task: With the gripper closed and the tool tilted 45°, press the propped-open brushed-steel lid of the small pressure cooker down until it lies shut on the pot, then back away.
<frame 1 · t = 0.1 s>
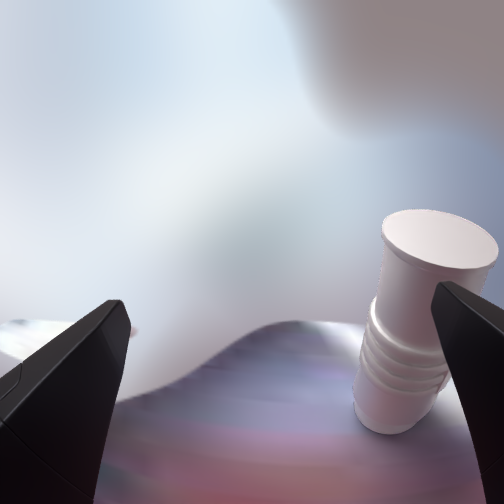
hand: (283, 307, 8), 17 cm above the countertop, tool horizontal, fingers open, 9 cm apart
white cylinder: (388, 405, 22), on the countertop
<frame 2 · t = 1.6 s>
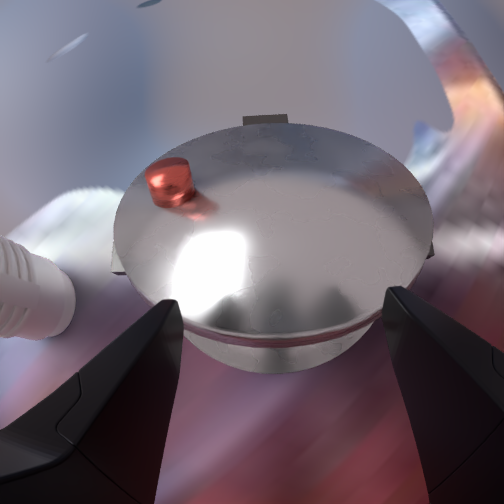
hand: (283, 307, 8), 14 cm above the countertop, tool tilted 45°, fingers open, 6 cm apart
cooker pot: (273, 265, 23), on the countertop
cooker lid: (272, 183, 14), point 10 cm above the countertop, hinge at 28.0°
white cylinder: (51, 302, 23), on the countertop
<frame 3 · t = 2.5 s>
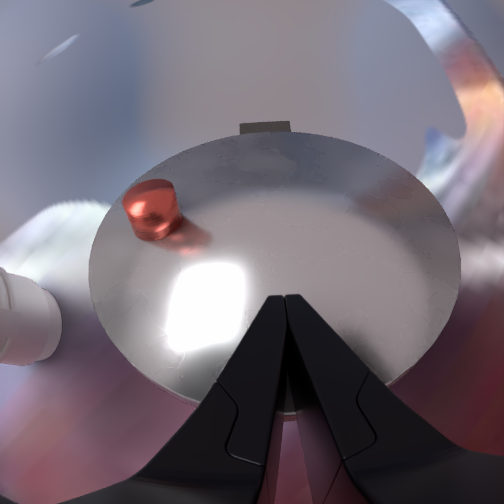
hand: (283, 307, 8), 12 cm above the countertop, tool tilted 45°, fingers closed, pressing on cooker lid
cooker pot: (274, 290, 21), on the countertop
cooker lid: (273, 210, 12), point 9 cm above the countertop, hinge at 27.2°, touching gripper
white cylinder: (37, 324, 21), on the countertop
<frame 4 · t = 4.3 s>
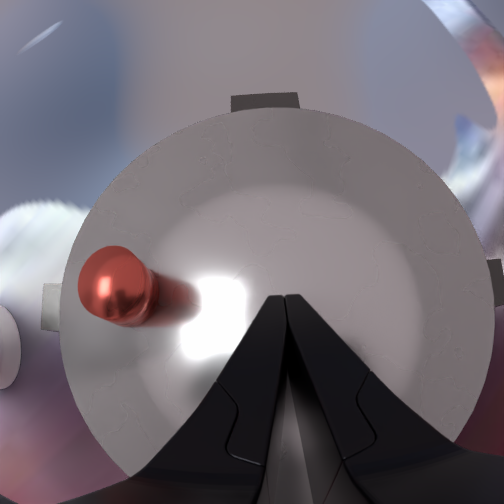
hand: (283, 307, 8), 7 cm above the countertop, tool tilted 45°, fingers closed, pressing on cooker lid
cooker pot: (277, 316, 15), on the countertop
cooker lid: (280, 287, 9), point 7 cm above the countertop, hinge at 5.5°, touching gripper
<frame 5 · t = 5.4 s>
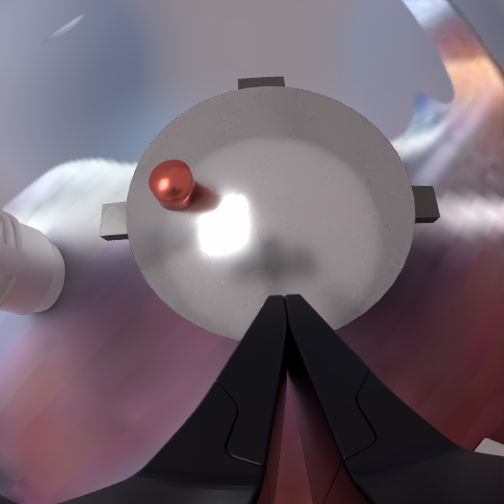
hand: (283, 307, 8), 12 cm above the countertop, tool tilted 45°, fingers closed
cooker pot: (270, 231, 22), on the countertop
cooker lid: (270, 183, 15), point 7 cm above the countertop, hinge at 5.4°
white cylinder: (40, 276, 22), on the countertop
milk carton: (471, 488, 16), on the countertop
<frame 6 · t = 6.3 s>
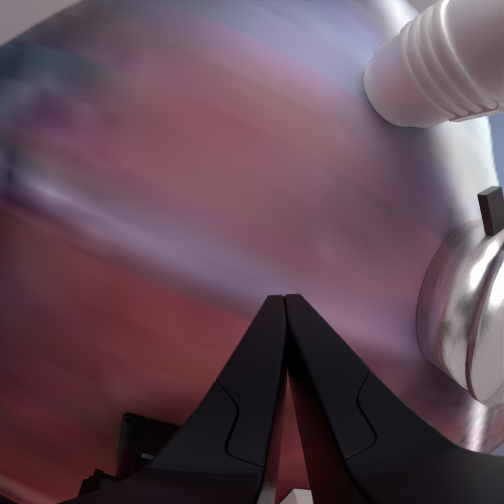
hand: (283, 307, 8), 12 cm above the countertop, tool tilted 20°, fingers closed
cooker pot: (473, 297, 24), on the countertop
white cylinder: (396, 90, 20), on the countertop
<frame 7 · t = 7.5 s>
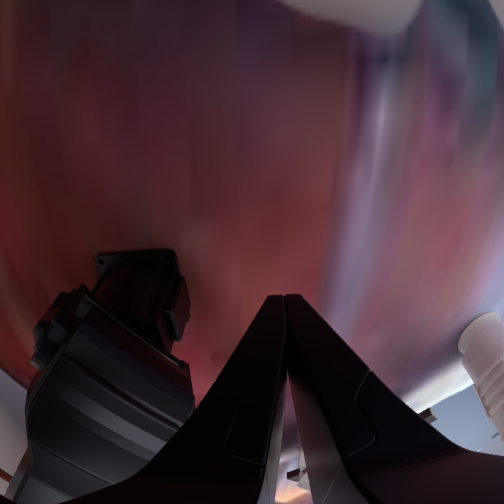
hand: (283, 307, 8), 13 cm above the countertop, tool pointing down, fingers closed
cooker pot: (352, 425, 34), on the countertop
cooker lid: (362, 473, 28), point 7 cm above the countertop, hinge at 5.4°
white cylinder: (478, 332, 27), on the countertop
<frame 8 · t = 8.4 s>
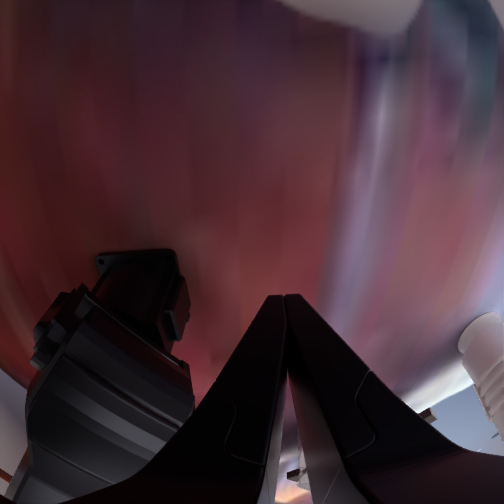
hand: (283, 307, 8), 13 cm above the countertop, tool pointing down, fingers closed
cooker pot: (352, 425, 34), on the countertop
cooker lid: (362, 473, 28), point 7 cm above the countertop, hinge at 5.4°
white cylinder: (478, 332, 27), on the countertop
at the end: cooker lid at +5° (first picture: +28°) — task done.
